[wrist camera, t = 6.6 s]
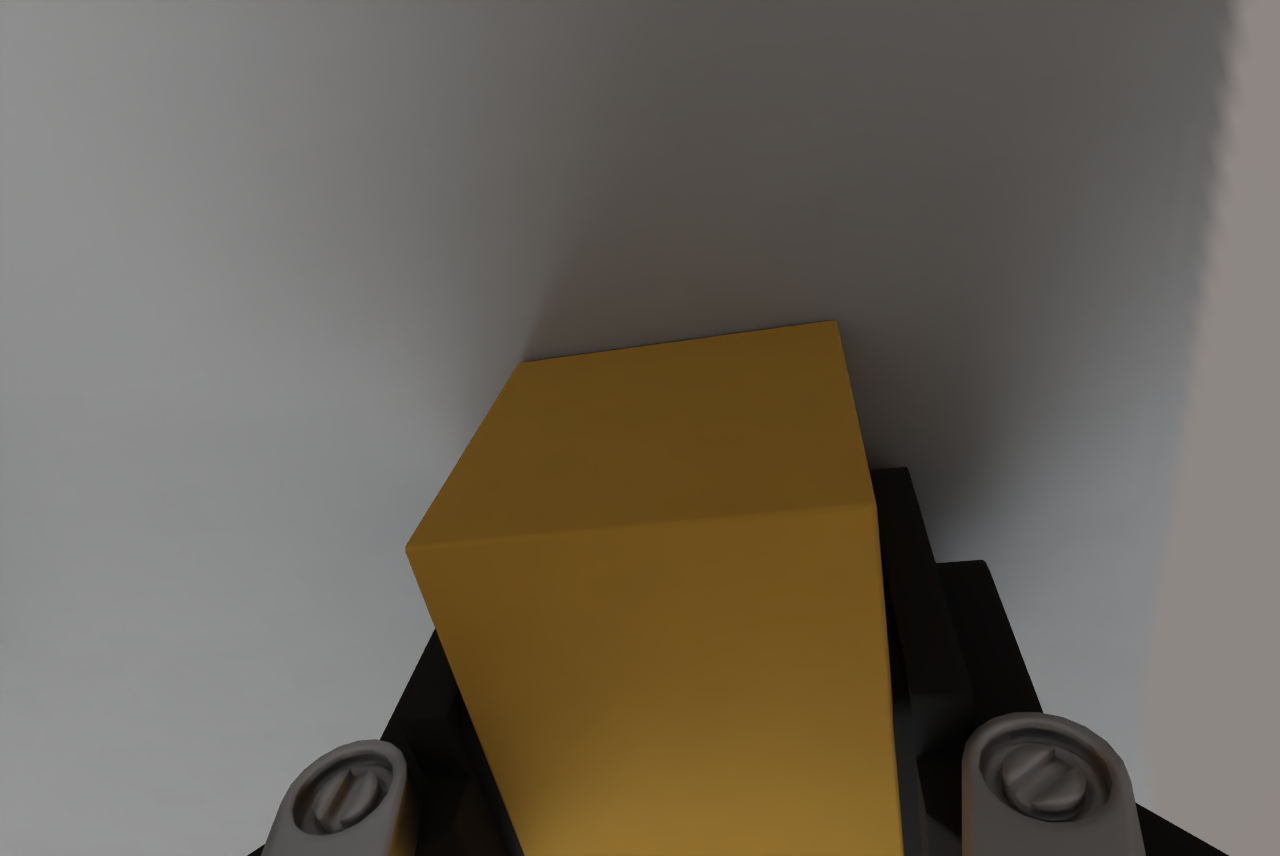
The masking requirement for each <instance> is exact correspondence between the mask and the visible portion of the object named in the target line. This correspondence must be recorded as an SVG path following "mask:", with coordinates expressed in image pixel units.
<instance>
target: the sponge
mask: <svg viewBox="0 0 1280 856" xmlns="http://www.w3.org/2000/svg"><path fill="white" fill-rule="evenodd" d="M406 554H407V557H408V559H409V562H410V565H411V567H412V570H413V572H414V575H415V577H416V580H417V582H418V585H419V587H420V590H421V593H422V595H423V598H424V600H425V603H426V605H427V608H428V610H429V613H430V616H431V618H432V621H433V623H434V626H435V628H436V631H437V633H438V636H439V639H440V641H441V644H442V646H443V649H444V651H445V654H446V656H447V659H448V662H449V664H450V667H451V669H452V672H453V674H454V677H455V679H456V682H457V685H458V687H459V690H460V692H461V695H462V697H463V700H464V702H465V705H466V707H467V710H468V713H469V715H470V718H471V720H472V723H473V725H474V728H475V730H476V733H477V736H478V738H479V741H480V743H481V746H482V748H483V751H484V753H485V756H486V759H487V761H488V764H489V766H490V769H491V771H492V774H493V776H494V779H495V782H496V784H497V787H498V789H499V792H500V794H501V797H502V799H503V802H504V804H505V807H506V810H507V812H508V815H509V817H510V820H511V822H512V825H513V827H514V830H515V833H516V835H517V838H518V840H519V843H520V845H521V848H522V850H523V853H524V856H904V848H903V836H902V824H901V812H900V800H899V788H898V776H897V763H896V751H895V739H894V727H893V697H892V685H891V673H890V661H889V649H888V636H887V624H886V612H885V600H884V588H883V576H882V563H881V551H880V539H879V527H878V515H877V505H876V500H875V496H874V491H873V486H872V482H871V477H870V472H869V468H868V463H867V459H866V454H865V449H864V445H863V440H862V435H861V431H860V426H859V421H858V417H857V412H856V407H855V403H854V398H853V393H852V389H851V384H850V379H849V375H848V370H847V366H846V361H845V356H844V352H843V347H842V342H841V338H840V333H839V328H838V324H837V322H836V321H833V320H832V321H825V322H817V323H810V324H803V325H795V326H788V327H781V328H773V329H766V330H758V331H751V332H744V333H736V334H729V335H722V336H714V337H707V338H699V339H692V340H685V341H677V342H670V343H663V344H655V345H648V346H640V347H633V348H626V349H618V350H611V351H604V352H596V353H589V354H581V355H574V356H567V357H559V358H552V359H545V360H537V361H530V362H523V363H519V364H518V365H517V367H516V368H515V370H514V372H513V373H512V375H511V377H510V378H509V380H508V381H507V383H506V385H505V386H504V388H503V389H502V391H501V393H500V394H499V396H498V398H497V399H496V401H495V402H494V404H493V406H492V407H491V409H490V411H489V412H488V414H487V415H486V417H485V419H484V420H483V422H482V423H481V425H480V427H479V428H478V430H477V432H476V433H475V435H474V436H473V438H472V440H471V441H470V443H469V445H468V446H467V448H466V449H465V451H464V453H463V454H462V456H461V457H460V459H459V461H458V462H457V464H456V466H455V467H454V469H453V470H452V472H451V474H450V475H449V477H448V479H447V480H446V482H445V483H444V485H443V487H442V488H441V490H440V491H439V493H438V495H437V496H436V498H435V500H434V501H433V503H432V504H431V506H430V508H429V509H428V511H427V513H426V514H425V516H424V517H423V519H422V521H421V522H420V524H419V525H418V527H417V529H416V530H415V532H414V534H413V535H412V537H411V538H410V540H409V542H408V543H407V545H406Z"/></svg>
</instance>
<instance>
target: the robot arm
mask: <svg viewBox="0 0 1280 856" xmlns="http://www.w3.org/2000/svg"><path fill="white" fill-rule="evenodd" d="M869 472H870V477H871V482H872V486H873V491H874V496H875V500H876V505H877V515H878V527H879V539H880V551H881V563H882V576H883V588H884V600H885V612H886V624H887V636H888V649H889V661H890V673H891V685H892V697H893V727H894V739H895V751H896V763H897V776H898V788H899V800H900V812H901V824H902V836H903V848H904V856H1229V855H1227V854H1225V853H1223V852H1222V851H1220V850H1218V849H1216V848H1214V847H1213V846H1211V845H1209V844H1207V843H1206V842H1204V841H1202V840H1200V839H1199V838H1197V837H1195V836H1193V835H1192V834H1190V833H1188V832H1186V831H1184V830H1183V829H1181V828H1179V827H1177V826H1175V825H1174V824H1172V823H1170V822H1169V821H1167V820H1165V819H1163V818H1162V817H1160V816H1158V815H1156V814H1155V813H1153V812H1151V811H1149V810H1147V809H1146V808H1144V807H1142V806H1140V805H1139V804H1137V803H1135V799H1134V794H1133V789H1132V784H1131V780H1130V777H1129V775H1128V772H1127V770H1126V767H1125V765H1124V762H1123V760H1122V759H1121V758H1120V756H1119V755H1118V754H1117V753H1116V752H1115V751H1114V749H1113V748H1112V747H1111V746H1110V745H1109V744H1108V742H1107V741H1105V740H1104V739H1102V738H1101V737H1100V736H1098V735H1097V734H1095V733H1094V732H1092V731H1091V730H1090V729H1088V728H1087V727H1085V726H1082V725H1080V724H1078V723H1075V722H1073V721H1071V720H1068V719H1066V718H1064V717H1060V716H1055V715H1050V714H1045V713H1043V711H1042V708H1041V705H1040V703H1039V700H1038V697H1037V695H1036V692H1035V689H1034V687H1033V684H1032V682H1031V679H1030V676H1029V674H1028V671H1027V668H1026V666H1025V663H1024V660H1023V658H1022V655H1021V652H1020V650H1019V647H1018V645H1017V642H1016V639H1015V637H1014V634H1013V631H1012V629H1011V626H1010V623H1009V621H1008V618H1007V615H1006V613H1005V610H1004V607H1003V605H1002V602H1001V600H1000V597H999V594H998V592H997V589H996V586H995V584H994V581H993V578H992V576H991V573H990V570H989V568H988V566H987V564H986V562H985V561H983V560H973V561H960V562H947V563H935V559H934V556H933V553H932V549H931V546H930V542H929V539H928V535H927V532H926V529H925V525H924V522H923V518H922V515H921V511H920V508H919V505H918V501H917V498H916V494H915V491H914V487H913V484H912V481H911V477H910V474H909V471H908V468H907V467H900V468H890V469H880V470H870V471H869ZM248 856H524V853H523V850H522V848H521V845H520V843H519V840H518V838H517V835H516V833H515V830H514V827H513V825H512V822H511V820H510V817H509V815H508V812H507V810H506V807H505V804H504V802H503V799H502V797H501V794H500V792H499V789H498V787H497V784H496V782H495V779H494V776H493V774H492V771H491V769H490V766H489V764H488V761H487V759H486V756H485V753H484V751H483V748H482V746H481V743H480V741H479V738H478V736H477V733H476V730H475V728H474V725H473V723H472V720H471V718H470V715H469V713H468V710H467V707H466V705H465V702H464V700H463V697H462V695H461V692H460V690H459V687H458V685H457V682H456V679H455V677H454V674H453V672H452V669H451V667H450V664H449V662H448V659H447V656H446V654H445V651H444V649H443V646H442V644H441V641H440V639H439V636H438V633H437V631H436V628H435V630H434V632H433V634H432V636H431V638H430V640H429V642H428V644H427V646H426V648H425V650H424V652H423V654H422V656H421V658H420V660H419V662H418V664H417V666H416V668H415V670H414V672H413V674H412V676H411V678H410V680H409V682H408V684H407V686H406V688H405V690H404V692H403V694H402V696H401V698H400V700H399V702H398V704H397V706H396V708H395V710H394V713H393V715H392V717H391V719H390V721H389V723H388V725H387V727H386V729H385V731H384V733H383V735H382V737H381V739H380V740H376V739H375V740H361V741H356V742H353V743H349V744H346V745H343V746H340V747H338V748H336V749H334V750H332V751H330V752H328V753H327V754H325V755H323V756H321V757H320V758H318V759H317V760H316V761H315V762H313V763H312V764H311V765H310V766H308V767H307V768H306V769H304V770H303V772H302V773H301V774H300V775H299V776H298V777H297V778H296V780H295V781H294V782H293V783H292V784H291V785H290V787H289V789H288V791H287V792H286V794H285V796H284V798H283V800H282V802H281V804H280V807H279V809H278V812H277V815H276V817H275V820H274V822H273V825H272V828H271V830H270V833H269V836H268V838H267V841H266V844H264V845H263V846H261V847H260V848H258V849H257V850H255V851H254V852H252V853H251V854H249V855H248Z"/></svg>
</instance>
